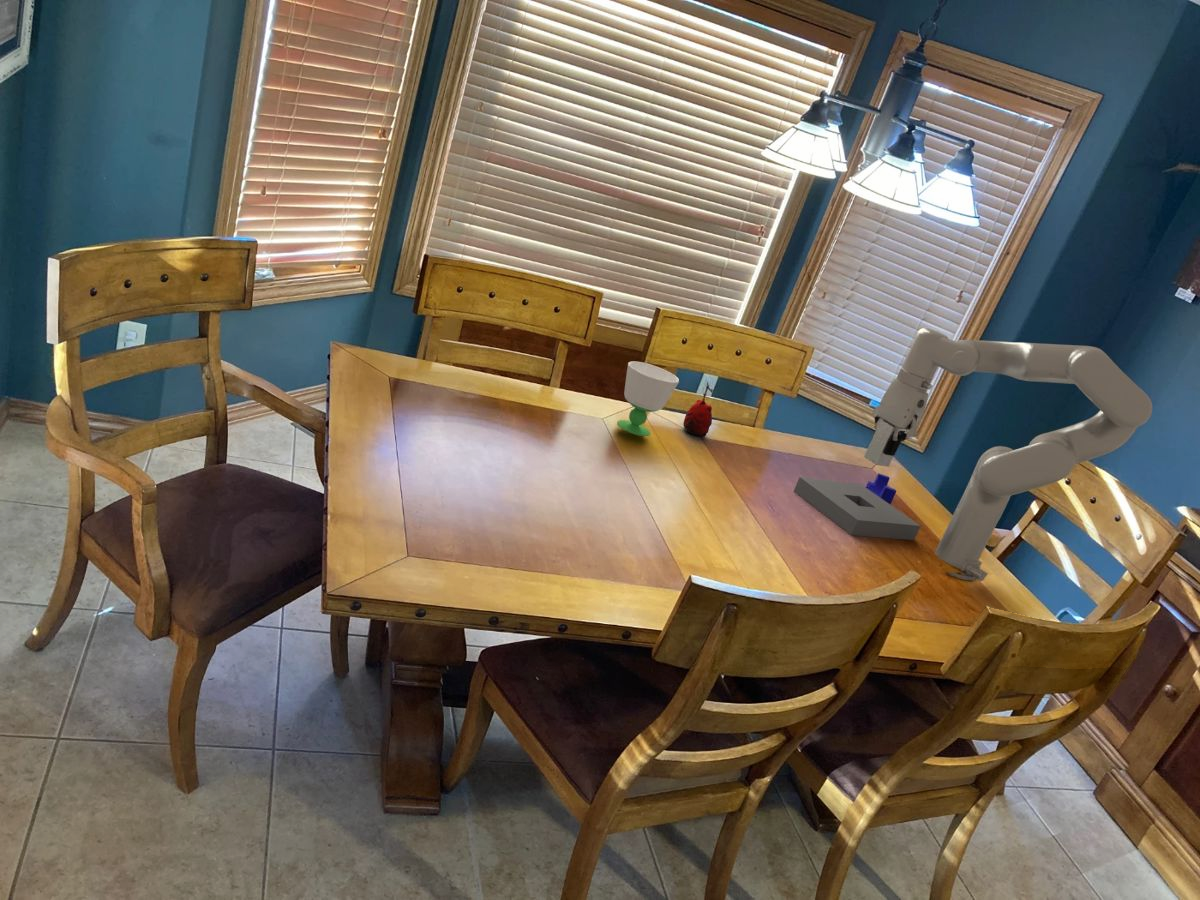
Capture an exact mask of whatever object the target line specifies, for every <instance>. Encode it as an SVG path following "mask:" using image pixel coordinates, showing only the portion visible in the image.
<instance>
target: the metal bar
mask: <svg viewBox="0 0 1200 900" xmlns="http://www.w3.org/2000/svg"><path fill="white" fill-rule="evenodd" d="M875 430H876V431H874V432H875V434H874V433H873V435H874V436H873V435H872V437H873V438H872V437H871V439H872V440H870V441H871V442H869V445H868V447H867V449H866V451H865V453H864V456H863V458H865V459H866V460H868V461H869V462H871V463H872V464H874V465H875V466H881V467H886V468H887V467H890V466H891V465H890V464H891V462H892V460H893V458H894V456H891V455H886V454H884V451H885V449H886V447H887V445H888V443H889V440H890V439H893V435H894V431H895V426H894V425H892V424H890V423H889V422H887V421H885V420H880V423H879V425H878V427H877V429H875ZM900 433H901V431H900Z"/></svg>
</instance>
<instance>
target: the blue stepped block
mask: <svg viewBox="0 0 1200 900" xmlns="http://www.w3.org/2000/svg"><path fill="white" fill-rule="evenodd" d="M890 480H891V479H890V476H889V475H888V476H887V475H884V474H882V473H879V472H878V473H877V475H876V478H875V479H874V482H872V481H870V480H869V481H867V484H866V486H865V487H866V488H867V489H868V490H870V491H871V492H873V493H874V494H876V495H877V496H879V497H880V498H881V499H883V500H884V501H886V502H887V503H889V504H890V505H892V502H893V500H894V498H895V496H896V493H897V489H895V488H893V487H889V486H888V484H889V481H890Z"/></svg>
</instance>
